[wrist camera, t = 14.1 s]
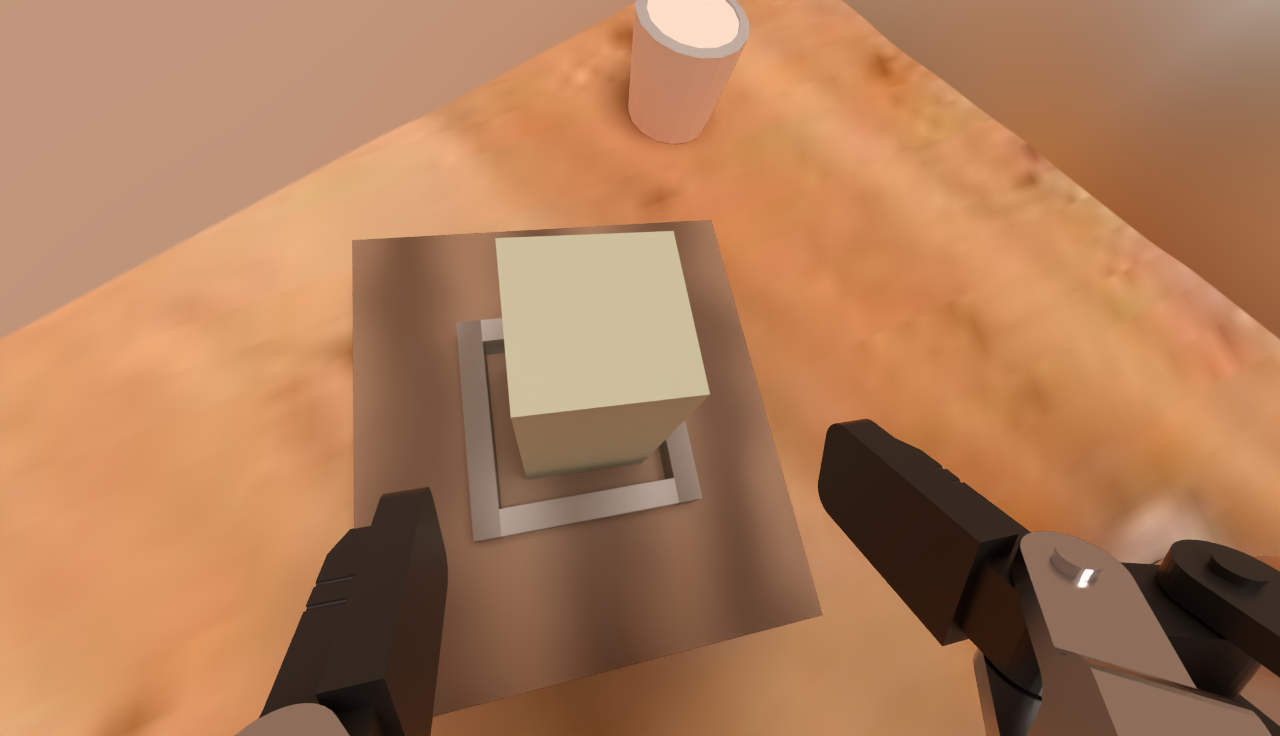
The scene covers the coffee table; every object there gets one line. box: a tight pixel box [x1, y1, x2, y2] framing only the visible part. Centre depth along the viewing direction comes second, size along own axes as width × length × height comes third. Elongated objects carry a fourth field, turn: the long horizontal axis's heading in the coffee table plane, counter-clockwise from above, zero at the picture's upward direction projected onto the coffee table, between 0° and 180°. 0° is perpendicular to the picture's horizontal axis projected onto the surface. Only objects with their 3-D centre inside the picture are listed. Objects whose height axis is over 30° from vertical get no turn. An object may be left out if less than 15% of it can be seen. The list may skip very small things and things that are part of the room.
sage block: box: [495, 231, 710, 480], centre depth 18 cm, size 5×5×10 cm
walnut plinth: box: [352, 220, 822, 716], centre depth 23 cm, size 18×20×6 cm
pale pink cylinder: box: [628, 0, 749, 144], centre depth 32 cm, size 7×7×7 cm
